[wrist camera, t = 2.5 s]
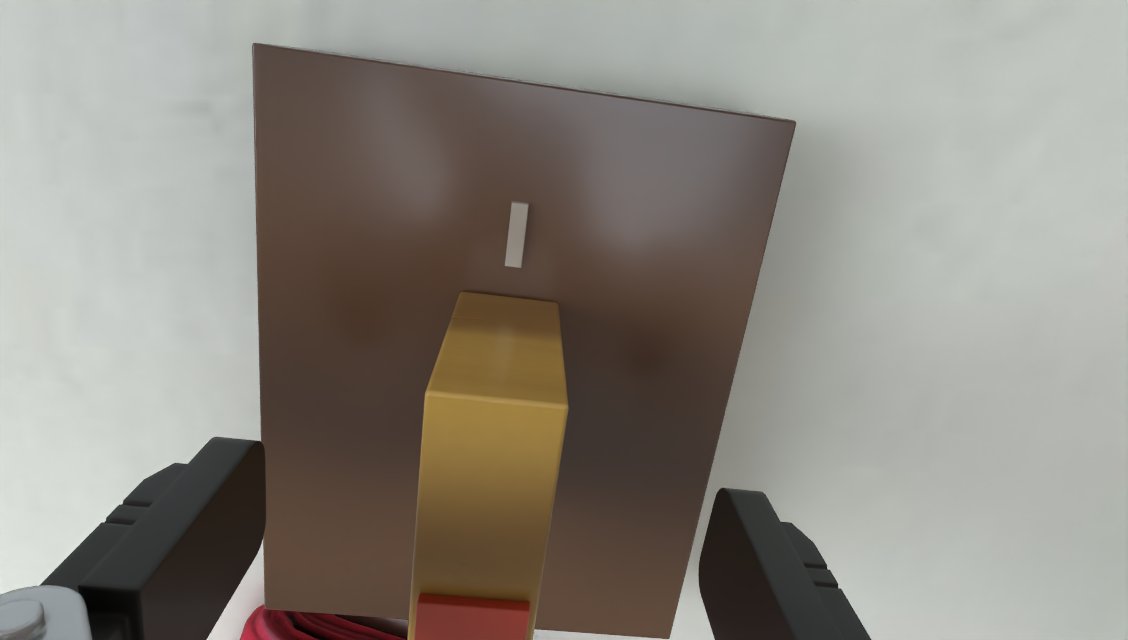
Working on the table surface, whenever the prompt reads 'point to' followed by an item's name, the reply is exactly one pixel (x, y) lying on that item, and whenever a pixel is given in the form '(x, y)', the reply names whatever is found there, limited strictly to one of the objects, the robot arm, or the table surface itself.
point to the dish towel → (306, 627)
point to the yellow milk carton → (488, 470)
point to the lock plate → (503, 268)
